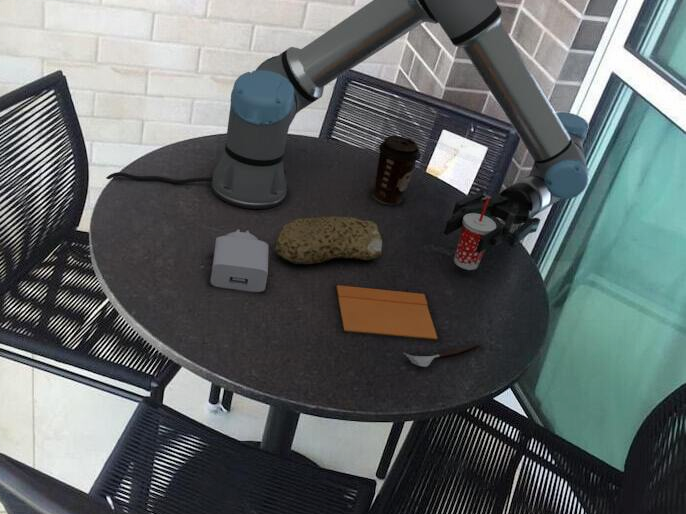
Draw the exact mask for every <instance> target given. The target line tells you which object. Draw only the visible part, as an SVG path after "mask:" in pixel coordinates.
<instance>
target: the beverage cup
mask: <svg viewBox="0 0 686 514" xmlns="http://www.w3.org/2000/svg"><path fill="white" fill-rule="evenodd" d="M488 201H489V197H487V199H486V202H485V204H484V207H483V210H482V213H481V214H476V213H469V214H466V215H465V216H464V217H463V221H462V222H463V226H462V227H461V230H460V234H459V237H458V242H457V245H456V249H455V252H454V253H455V254H454V258H453V262H454V264H455V265H456V266H458V267H460V268H461V269H464V270H467V271H471V270H472V271H473V270H477V268H478V267H479V265H480V262H481V261H482V258H483V256H484V253H485V251H486V249H485V250H483V251H482V252H480V253H478V252H477V251H476V249H477V246H478V243H479V240H480V238H481V237H483V236H485V235H486V234H488V233H489V232H491V231H493V230H494V229H496V228H497V224H496V222H495V220H493V218H489V217H487V216H484V213H485V210H486V207H487V204H488Z"/></svg>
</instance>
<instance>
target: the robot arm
mask: <svg viewBox="0 0 686 514" xmlns="http://www.w3.org/2000/svg"><path fill="white" fill-rule="evenodd" d="M502 16H503V11H502V9H501V8H500V6H499V4H498V3H497V0H371V1H370V2H368V3H367V4H365V5H364V6H363V7H361V8H359V9H358V10H357V11H355V12H353V13H352V14H350V15H348V17H346V18H345V19H343V20H342V21H340V22H339V23H337V24H336V25H334V26H333V27H332V28H330V29H328V30H327V31H326V32H325V33H324V32H323V34H321V35H320V36H318V37H317V38H316V39H314V40H313V41H311V42H309V43H308V44H307V45H305V46H304V47H302V48H299V47H295V46H290V47H288V48H287V49H285V50H284V51H282V52H281V53H280V54H278V55H274V56H272V57H269V58H267V59H265V60H264V61H263V62H261V63H260V64H259V65H258V66H257V67H256V69H255V70H252V71H251V72H250V71H247V72H245V73H242V74H241V75H239V76H238V77H237V78H236V80H235V81H234V84H233V88H232V90H231V93H230V105H229V106H230V107H229V113H228V122H227V128H226V129H227V130H226V137H225V146H224V150H223V153H222V155H221V157H220V159H219V161H218V163H217V165H216V167H215V169H214V171H213V173H212V176H208V177H206V176H205V177H195V178H194V177H192V178H185V179H175V178H174V179H172V178H168V177H166V176H165V177H164V176H159V175H143V176H142V175H134V174H130V173H126V172H121V171H120V172H119V171H118V172H113V173H111V174H109V175H107V176H106V177H105V179H106V180H112V179H113V178H117V177H124V178H128V179H131V180H136V181H162V182H166V183H170V184H189V183H190V184H191V183H199V182H200V183H201V182H210V189H211V191H212V193H213V194H214V195H215V196H216V197H217V198H219V199H220V200H221V201H223V202H225V203H227V204H229V205H232V206H235V207H237V208H241V209H242V208H243V209H248V210H266V209H271V208H275V207H277V206H279V205H281V204H282V203H283V202H284V201H285V199H286V195H287V180H286V175H287V170H286V169H285V167H284V156H285V149H286V145H287V138H288V133H289V129H290V126H291V124H292V123H293V121H294V119H295V118H296V115H297V114H298V113H300V111H302V110H303V109H305V108H307V107H308V106H311V104H313V103H315V102H316V101H318V100H319V99H321V98H322V97H323V95H324V89H325V87H326V86H327V85H328V84H330V83H331V82H333V81H335V80H336V79H338V78H339V77H341V76H343V75H344V74H346V73H348V71H351V70H352V69H353V68H356V66H358V65H360V64H361V63H362V62H364V61H367V59H370V57H372V56H374V55H375V54H377V53H378V52H379V51H380V52H381V50H383V49H385V48H386V47H388V46H389V45H390V44H392V43H394V42H395V41H397V40H398V39H400V38H402V37H403V36H405V35H406V34H408V33H409V32H410V31H413V30H414V29H416V28H417V27H419V26H420V25H422V24H423V23H429V24H434V25H437V24H439V26H440V27H441V29H442V30H443V31H444V33H445V34H446V36H447V37H448V39H449V41H450V42H451V43H452V45H453V47H457V48H462V50H463V51H464V53H465V54H466V55H467V57H468V59H469V61H470V62H471V63H472V65H473V67H474V68H475V70H476V71H477V73H478V75H479V76H480V77H481V79H482V81H483V82H484V84H485V86H486V87H487V88H488V91H490V93H491V95H492V97H493V98H494V99H495V101H496V102H497V104H498V106H499V107H500V109H501V111H503V114H504V115H505V117H506V118H507V120H508V122H509V123H510V125H511V126H512V128H513V130H514V131H515V133H516V134H517V135H518V138H519V139H520V140H521V142H522V144H523V146H524V147H525V148H526V150H527V151H528V153H529V154H530V156H531V157H532V159H533V161H534V162H533V164H532V168H531V170H530V172H529V175H527V176H526V177H524V178H522V179H519V180H518V181H517V182H514V183H513V184H512V185H509V186H508V187H506V188H505V189H503V190H502V191H501V192H500V193H499V194H494V195H491V196H489V195H487V194H486V191H485V190H484V189H481V188H480V189H478V191H477V192H476V193H474V194H471V195H469V196H467V197H464V198H462V199H460V200H457V201H456V202H455V204H454V207H453V210H452V215H451V218H450V219H448V220H447V221H446V225H445V228H444V231H443V235H446V236H448V235H450V234H452V233H454V232H455V231H457V230H459V229H460V228H462V226H463V222H462V221H463V217H464V216H465V215H466V214H469V213H476V214H481V213H482V210H483V207H484V204H485V202H486V199H487V197H489V201H488V204H487V207H486V210H485V213H484V216H487V217H489V218H490V219H494V218H496V219H499V220H501V221H502V222H504V225H503V226H502V228H501V227H499V226H498V227H497V226H496V229H494V230H493V231H491V232H489V233H488V234H486V235H485V236H483V237H481V238H480V240H479V243H478V246H477V249H476V251H477V252H478V253H480V252H482V251H483V250H485V251H486V249H488V248H489V247H491V246H492V247H498V246H499V245H501V244H504V243H508V245H509V246H510V247H516V246H517V245H518V244H520V242H521V241H523V240H524V239H525V238H526V237H527V236H528V235H529V234H532V233H536V232H537V230H538V228H539V225H540V223H541V219H540V218H539V217H535V216H536V215H537V216H538V214H540V213H541V212H544V210H546V209H547V208H549V207H550V206H552V205H554V204H557V203H558V202H560V201H562V200H570V199H574V198H577V197H578V196H580V195H581V194H583V192H584V191H585V190H586V188H587V186H588V183H589V175H590V173H589V167H588V166H587V162H586V157H585V151H584V146H583V145H584V141H585V140H586V139H587V134H588V132H589V128H590V125H589V122H588V121H587V120H586V119H585V118H583V117H582V116H580V115H578V114H575V113H571V112H568V111H567V112H566V111H558V112H556V111H555V109H554V108H553V106H552V104H551V103H550V101H549V100H548V98H547V96H546V94H545V93H544V91H543V90H542V88H541V86H540V85H539V83H538V81H537V80H536V78H535V76H534V75H533V73H532V72H531V70H530V68H529V67H528V65H527V63H526V62H525V59H524V58H523V56H522V55H521V53H520V51H519V50H518V48H517V46H516V45H515V43H514V42H513V40H512V38H511V37H510V35H509V34H508V31H507V30H506V28H505V27H504V25H503V23H502V18H503V17H502ZM513 224H514V225H520V226H518V227H517V228H516V229H514V231H512V232H510V231H511V229H512V227H513Z"/></svg>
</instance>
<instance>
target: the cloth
mask: <svg viewBox="0 0 686 514" xmlns="http://www.w3.org/2000/svg"><path fill="white" fill-rule="evenodd" d="M336 293H337V299H338V304H339V311H340V315H341V316H340V317H341V321H342V328H343V331H344V332H348V333H349V332H351V333H361V334H362V333H363V334H371V335H383V336H392V337H393V336H394V337H403V338H404V337H406V338H414V339H415V338H416V339H425V340H426V339H427V340H438V335H437V332H436V328H435V326H434V323H433V319H432V317H431V313H430V310H429V307H428V301H427V298H426V295H425V293H419V292H409V291H398V290H388V289H379V288H369V287H359V286H349V285H339V284H338V285H336Z"/></svg>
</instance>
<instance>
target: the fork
mask: <svg viewBox="0 0 686 514" xmlns="http://www.w3.org/2000/svg"><path fill="white" fill-rule="evenodd" d="M479 346H482V344H481V343H477V344H476V343H475V344H469V345H464V346H458V347H453V348H450V349H447V350H445V351H442V352H440V353H437V354H435V355H431V356H430V355H428V356H427V355H426V356H425V355H420V356H419V355H417V356H416V355H411V354H408V353H406V352H403V353H402V354H403V355H405V357H406V358H408V360H409V361H410V363H411V364H414V365H416V366H418V367H422V368H427V367H429V366H430V365H431V363H432V362H433V360H434V359H437V358H442V357H443V358H444V357H450V356H455V355H459V354H462V353H464V352H467V351H469V350H472V349H475V348H478V347H479Z"/></svg>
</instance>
